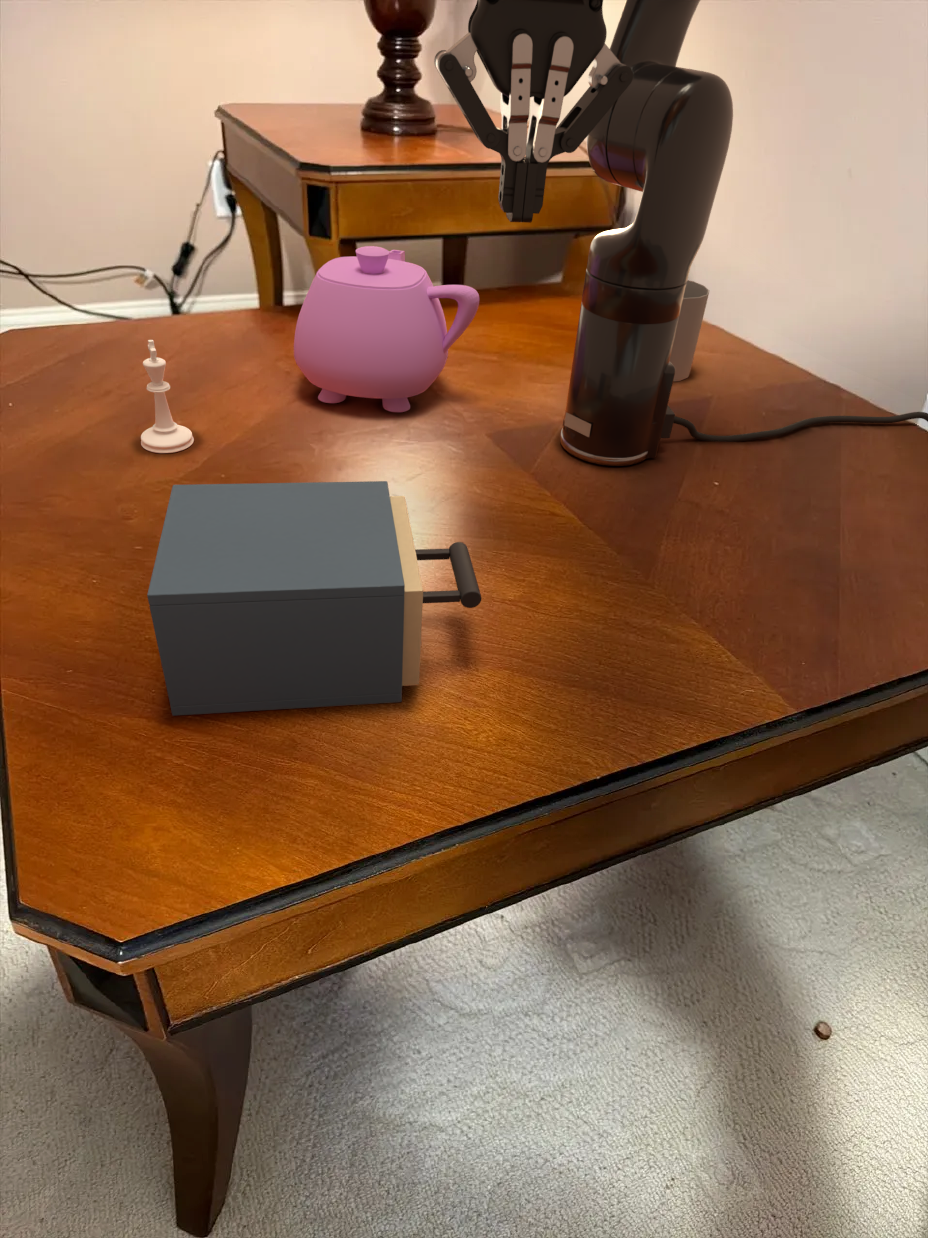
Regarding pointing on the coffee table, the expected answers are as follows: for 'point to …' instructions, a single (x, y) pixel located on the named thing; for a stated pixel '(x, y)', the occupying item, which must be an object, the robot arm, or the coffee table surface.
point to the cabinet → (278, 597)
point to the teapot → (377, 328)
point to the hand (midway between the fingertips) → (519, 219)
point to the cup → (688, 328)
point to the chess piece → (162, 412)
